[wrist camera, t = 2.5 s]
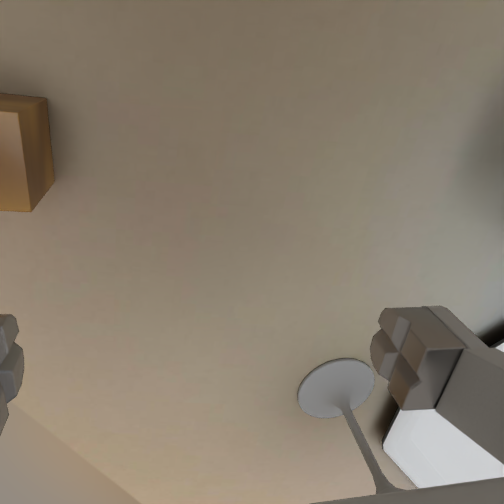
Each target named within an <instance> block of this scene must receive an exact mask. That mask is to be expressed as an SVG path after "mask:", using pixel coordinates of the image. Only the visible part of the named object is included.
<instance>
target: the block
mask: <svg viewBox="0 0 504 504" xmlns="http://www.w3.org/2000/svg"><path fill="white" fill-rule="evenodd" d="M54 182H55V180H54V170H53V160H52V150H51V139H50V129H49V119H48V109H47V99H46V98H40V97H31V96H22V95H13V94H4V93H0V211H18V212H32V211H33V209H34V208H35V207H36V205H37V204H38V203H39V201H40V200H41V199H42V197H43V196H44V195H45V194H46V192H47V191H48V190H49V188H50V187H51V186H52V184H53V183H54Z"/></svg>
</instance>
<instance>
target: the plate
mask: <svg viewBox="0 0 504 504" xmlns="http://www.w3.org/2000/svg"><path fill="white" fill-rule="evenodd" d="M489 348H496V349H498V350H501V351H503V352H504V339H502V340H500V341H499V342H497V343H495V344H494V345H492V346H490V347H489ZM382 449H383V450H384V451H385V452H386V453H387V454H388V455H389V457H390V458H391V459H392V460H393V461H394V462H395V463H396V464H397V465H398V466H399V467H400V469H401V470H402V471H403V472H404V473H405V474H406V475H407V476H408V477H409V478H410V479H411V481H412V482H413V483H414V484H415V485H416V486H417V487H418V488H427V487H434V486H441V485H448V484H455V483H463V482H470V481H477V480H484V479H492V478H499V477H504V465H503V464H502V463H501V462H500V461H498V460H497V459H496V458H494V457H493V456H492V455H491V454H489V453H488V452H487V451H486V450H484V449H483V448H482V447H480V446H479V445H478V444H477V443H475V442H474V441H473V440H471V439H470V438H469V437H468V436H466V435H465V434H464V433H462V432H461V431H460V430H459V429H457V428H456V427H455V426H453V425H452V424H451V423H450V422H448V421H447V420H446V419H444V418H443V417H442V416H441V415H439V414H438V413H437V412H435V409H427V410H409V411H402V410H401V408H400V407H398V409H397V411H396V413H395V415H394V417H393V419H392V421H391V423H390V425H389V427H388V429H387V431H386V433H385V435H384V437H383V439H382Z"/></svg>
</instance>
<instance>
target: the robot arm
mask: <svg viewBox="0 0 504 504" xmlns="http://www.w3.org/2000/svg"><path fill="white" fill-rule="evenodd" d="M378 323H379V325H380V327H381V329H380V330H379V331H378V332H377V333H376V334H375V335H374V336H373V339H372V342H371V346H370V353H371V360H372V363H373V366H374V368H375V369H376V371H377V373H378V374H379V375H381V376H382V377H384V378H385V379H387V380H388V381H389V382H388V390H389V391H390V393H391V395H392V396H393V398H394V399H395V401H396V402H397V404H398V405H399V407H400V408H401V410H402V411H409V410H427V409H435V412H437V413H438V414H439V415H441V416H442V417H443V418H444V419H446V420H447V421H448V422H450V423H451V424H452V425H453V426H455V427H456V428H457V429H459V430H460V431H461V432H462V433H464V434H465V435H466V436H468V437H469V438H470V439H471V440H473V441H474V442H475V443H477V444H478V445H479V446H480V447H482V448H483V449H484V450H486V451H487V452H488V453H489V454H491V455H492V456H493V457H494V458H496V459H497V460H498V461H500V462H501V463H502V464H503V465H504V352H503V351H501V350H498V349H496V348H489V347H488V346H487V345H485V344H484V343H483V342H482V341H481V340H480V339H479V338H478V337H477V336H476V335H475V334H474V333H473V332H472V331H471V330H470V329H469V328H467V327H466V326H465V325H464V324H463V323H462V322H461V321H460V320H459V319H458V318H457V317H456V316H455V315H454V314H453V313H452V312H451V311H449V310H448V309H447V308H445V307H443V306H422V307H405V308H385V309H384V310H383V311H382V312H381V314H380V317H379V320H378ZM18 332H19V329H18V325H17V320H16V318H15V317H14V316H13V315H12V314H0V435H1V433H2V430H3V428H4V426H5V423H6V421H7V419H8V416H9V412H8V408H7V403H8V402H10V401H11V400H12V399H14V398H15V397H16V396H17V394H18V392H19V389H20V387H21V384H22V379H23V373H24V355H23V349H22V348H21V347H20V346H19V345H17V344H16V343H15V342H14V341H15V339H16V336H17V334H18ZM311 504H504V477H499V478H492V479H484V480H477V481H470V482H463V483H455V484H448V485H441V486H434V487H427V488H419V489H412V490H405V491H398V492H390V493H383V494H376V495H369V496H362V497H354V498H347V499H340V500H333V501H325V502H318V503H311Z"/></svg>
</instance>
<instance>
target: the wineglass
mask: <svg viewBox="0 0 504 504" xmlns="http://www.w3.org/2000/svg"><path fill="white" fill-rule="evenodd" d="M374 381H375V379H374V374H373V372H372V370H371V369H370V367H369V366H368V365H367V364H365V363H364V362H362V361H360V360H357V359H350V358H344V359H336V360H333V361H329V362H327V363H325V364H323V365H321V366H319V367H317V368H316V369H314V370H313V371H312V372H310V373H309V374H308V375H307V376H306V377H305V378H304V380H303V382H302V383H301V385H300V387H299V390H298V402H299V404H300V407H301V409H302V410H303V411H304V412H305V413H307V414H308V415H310V416H313V417H317V418H333V417H337V416H341V415H344V416H345V418H346V420H347V422H348V425H349V427H350V429H351V431H352V433H353V435H354V437H355V439H356V442H357V444H358V446H359V448H360V450H361V452H362V454H363V456H364V459H365V461H366V463H367V465H368V467H369V469H370V471H371V473H372V475H373V479H374V482H375V485H376V494H383V493H390V492H398V491H405V490H403V489H399V488H396V487H395V486H393V485H392V484H391V483H390V482H389V481H388V480H387V478H386V477H385V476H384V474H383V473H382V471H381V469H380V467H379V465H378V463H377V461H376V459H375V457H374V455H373V453H372V451H371V449H370V447H369V445H368V443H367V441H366V439H365V437H364V435H363V433H362V431H361V429H360V427H359V425H358V423H357V421H356V419H355V417H354V415H353V413H352V410H354V409H355V408H357V407H358V406H360V405H361V404H362V403H363V402H364V401H365V400H366V399H367V398H368V396H369V395H370V394H371V392H372V389H373V387H374Z"/></svg>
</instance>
